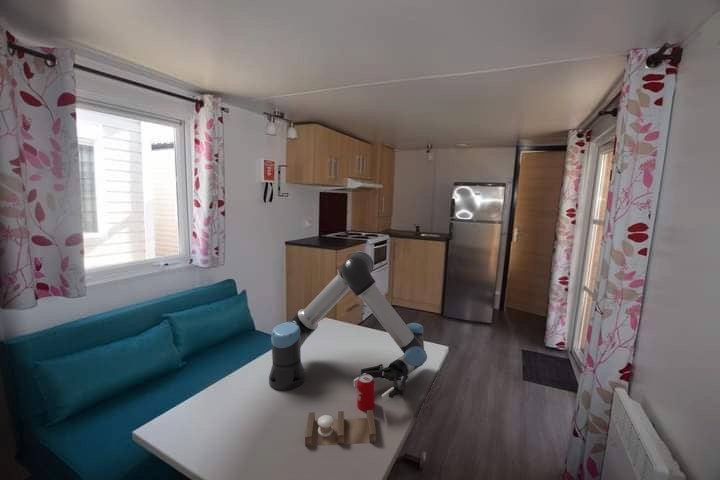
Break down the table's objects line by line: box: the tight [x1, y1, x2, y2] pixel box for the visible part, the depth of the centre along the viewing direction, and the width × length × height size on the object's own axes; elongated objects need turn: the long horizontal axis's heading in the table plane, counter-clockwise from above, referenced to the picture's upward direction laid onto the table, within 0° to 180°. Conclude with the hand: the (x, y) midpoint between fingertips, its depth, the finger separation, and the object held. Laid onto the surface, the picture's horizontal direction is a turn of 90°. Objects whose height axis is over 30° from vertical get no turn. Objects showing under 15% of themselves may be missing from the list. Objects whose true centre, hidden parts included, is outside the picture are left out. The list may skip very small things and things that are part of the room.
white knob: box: [317, 414, 334, 437], centre depth 101 cm, size 5×5×4 cm
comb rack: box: [304, 409, 377, 447], centre depth 102 cm, size 22×11×4 cm, turn 93°
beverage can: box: [356, 374, 375, 413], centre depth 114 cm, size 6×6×12 cm
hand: (367, 391), depth 114 cm, fingers open, 13 cm apart
